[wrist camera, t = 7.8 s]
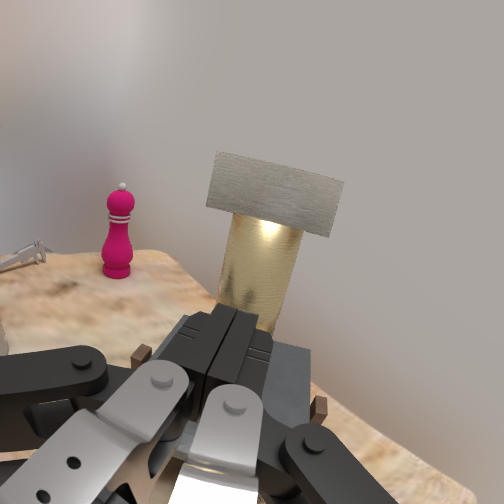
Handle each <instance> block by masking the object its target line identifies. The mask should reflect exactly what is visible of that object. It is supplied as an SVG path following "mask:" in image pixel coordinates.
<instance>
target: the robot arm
mask: <svg viewBox="0 0 504 504" xmlns="http://www.w3.org/2000/svg"><path fill="white" fill-rule="evenodd" d="M258 318H259V315H258V314H255V313H251V312H248V311H244V310H241V309H239V311H238V308H234V307H231V306H228V305H225V304H221V303H217V305H216V306H215V308H214V309H213V311H212V313H211V314H207V313H204V312H201V311H200V312H198V313H195V314H193V315H191V316H189V317H188V319H187V320H186V321H185V323H184V324H183V326H182V327H181V328H180V329H179V330H178V332H177V334H175V336H174V337H173V338H172V340H171V341H170V342H169V344H168V345H167V346H166V347H165V349H164V350H163V351H162V353H161V354H160V355H159V357H158V358H157V359H156V360H152V361H148V362H146V363H144V364H142V365H141V366H140V367H139V368H136V369H130V368H123V367H118V366H113V365H109V364H107V363H106V359H105V357H104V355H103V354H102V353H101V352H100V351H99V350H97V349H96V348H93V347H90V346H85V345H79V346H72V347H66V348H59V349H52V350H45V351H38V352H30V353H22V354H14V355H7V353H8V344H7V340H6V337H5V333H4V330H3V327H2V324H1V320H0V452H14V451H24V450H33V449H38V450H37V451H36V452H35V453H34V454H33V455H32V456H31V457H30V458H29V459H19V460H11V461H1V462H0V504H147V502H148V501H149V499H150V497H151V494H152V492H153V488H154V485H155V483H156V481H157V480H158V478H159V476H160V475H161V473H162V472H163V470H164V469H165V467H166V465H167V464H168V462H169V461H170V459H171V457H172V456H173V454H174V452H175V451H176V449H177V448H178V446H179V444H180V443H181V441H182V439H183V435H184V428H185V426H186V424H187V422H188V420H190V421H193V422H195V423H197V421H198V419H199V417H200V419H199V425H198V428H197V431H196V434H195V437H194V440H193V443H192V446H191V449H190V452H189V454H188V457H187V459H186V460H185V461H184V463H183V465H182V468H181V470H180V473H179V476H178V479H177V482H176V485H175V488H174V490H173V493H172V496H171V499H170V502H169V504H256V502H257V494H258V491H259V492H260V494H261V496H262V497H263V499H264V500H265V502H266V503H267V504H398V503H397V502H396V501H395V499H394V498H393V497H392V496H391V495H390V494H389V493H388V492H387V491H386V490H385V489H384V488H383V487H382V486H381V485H380V484H379V483H378V482H377V481H376V480H375V479H374V477H373V476H372V475H371V474H370V473H369V472H368V471H367V470H366V469H365V468H364V467H363V466H362V464H361V463H360V462H359V461H358V460H357V459H356V458H355V457H354V456H353V454H352V453H351V452H350V451H349V450H348V449H347V448H346V447H345V445H344V444H343V443H342V442H341V441H340V440H339V439H338V437H337V436H336V435H335V434H334V433H333V432H332V431H331V430H329V429H328V428H326V427H324V426H321V425H318V424H313V423H305V424H300V425H297V426H295V427H294V428H290V427H288V426H286V425H284V424H282V423H281V422H279V421H277V420H275V419H274V418H273V417H271V416H270V415H269V414H268V413H267V411H266V410H265V408H264V406H263V404H262V392H263V388H264V384H265V380H266V375H267V371H268V366H269V362H270V358H271V353H272V349H273V344H274V342H273V339H272V337H271V334H270V332H267V331H263V330H260V329H256V325H257V322H258ZM64 399H67V400H64ZM58 400H61V401H58ZM52 401H55V402H52ZM46 402H49V403H46ZM39 403H42V404H39Z"/></svg>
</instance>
